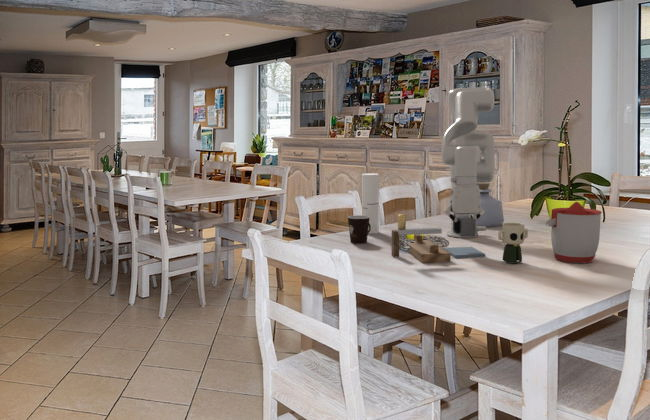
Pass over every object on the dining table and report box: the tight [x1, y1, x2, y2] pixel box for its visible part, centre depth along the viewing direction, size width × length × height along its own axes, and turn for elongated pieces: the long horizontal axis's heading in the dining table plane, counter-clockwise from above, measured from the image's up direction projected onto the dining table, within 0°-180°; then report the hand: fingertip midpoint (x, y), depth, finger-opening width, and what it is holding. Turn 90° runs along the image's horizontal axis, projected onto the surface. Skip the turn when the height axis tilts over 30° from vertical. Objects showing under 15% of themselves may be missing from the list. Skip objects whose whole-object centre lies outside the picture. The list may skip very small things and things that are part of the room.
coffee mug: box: [347, 214, 371, 245], centre depth 240 cm, size 12×9×10 cm
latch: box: [397, 213, 443, 236], centre depth 207 cm, size 15×3×7 cm, turn 97°
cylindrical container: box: [361, 172, 380, 235], centre depth 262 cm, size 7×7×25 cm
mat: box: [442, 246, 486, 259], centre depth 220 cm, size 11×13×1 cm
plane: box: [391, 229, 452, 264], centre depth 217 cm, size 17×24×9 cm
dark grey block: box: [454, 216, 476, 237], centre depth 218 cm, size 5×8×6 cm, turn 8°
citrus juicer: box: [545, 201, 603, 264], centre depth 207 cm, size 16×17×20 cm
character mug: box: [497, 222, 529, 264], centre depth 205 cm, size 11×7×13 cm, turn 106°
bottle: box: [476, 182, 505, 228], centre depth 282 cm, size 20×20×19 cm
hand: (464, 231), depth 218 cm, fingers closed on dark grey block, 5 cm apart
